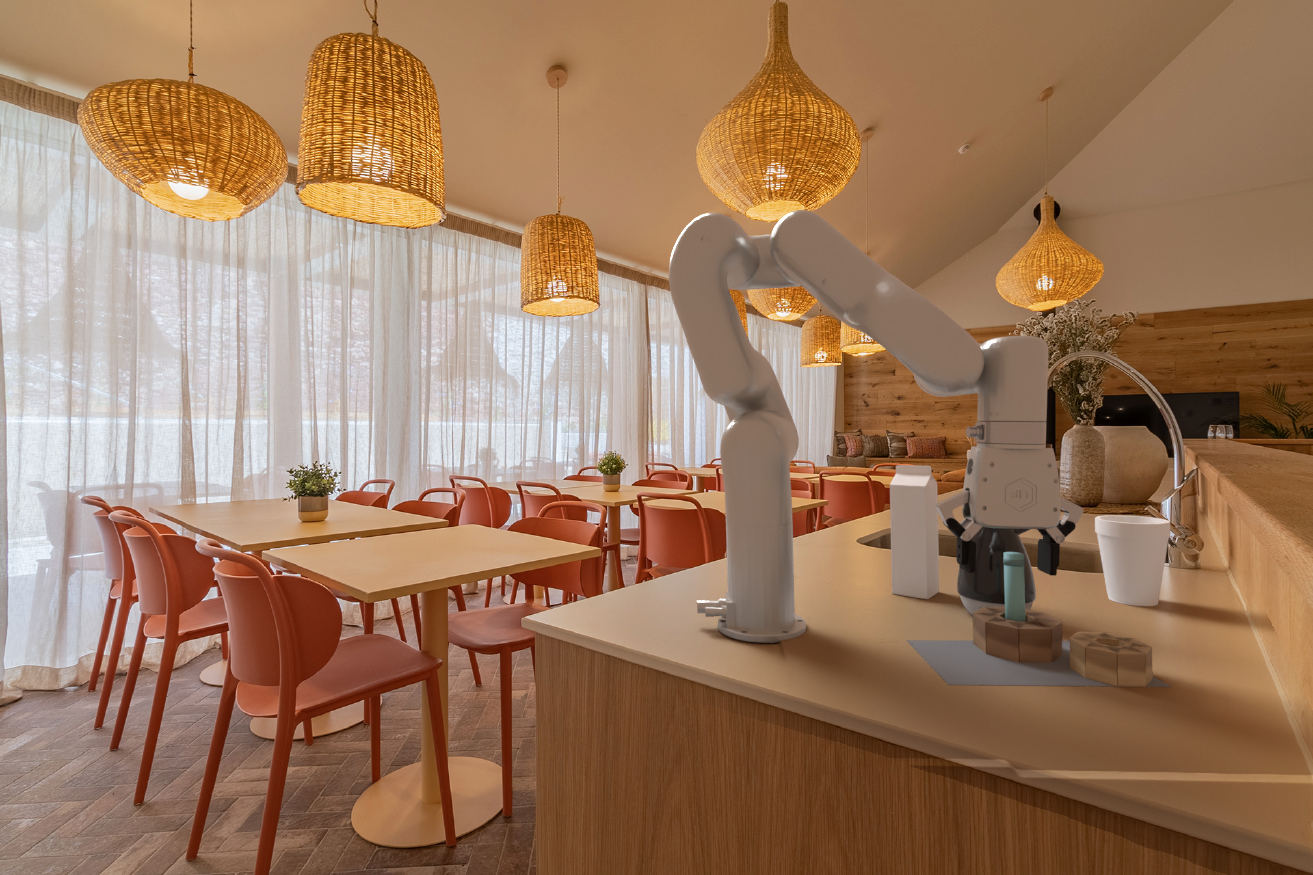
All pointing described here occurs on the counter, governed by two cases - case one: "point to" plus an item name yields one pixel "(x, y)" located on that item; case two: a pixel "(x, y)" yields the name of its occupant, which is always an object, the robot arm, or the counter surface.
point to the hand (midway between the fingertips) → (1006, 571)
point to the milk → (914, 532)
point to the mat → (1000, 667)
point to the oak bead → (1111, 658)
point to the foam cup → (1133, 557)
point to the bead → (1018, 635)
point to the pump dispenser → (993, 570)
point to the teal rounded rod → (1014, 586)
